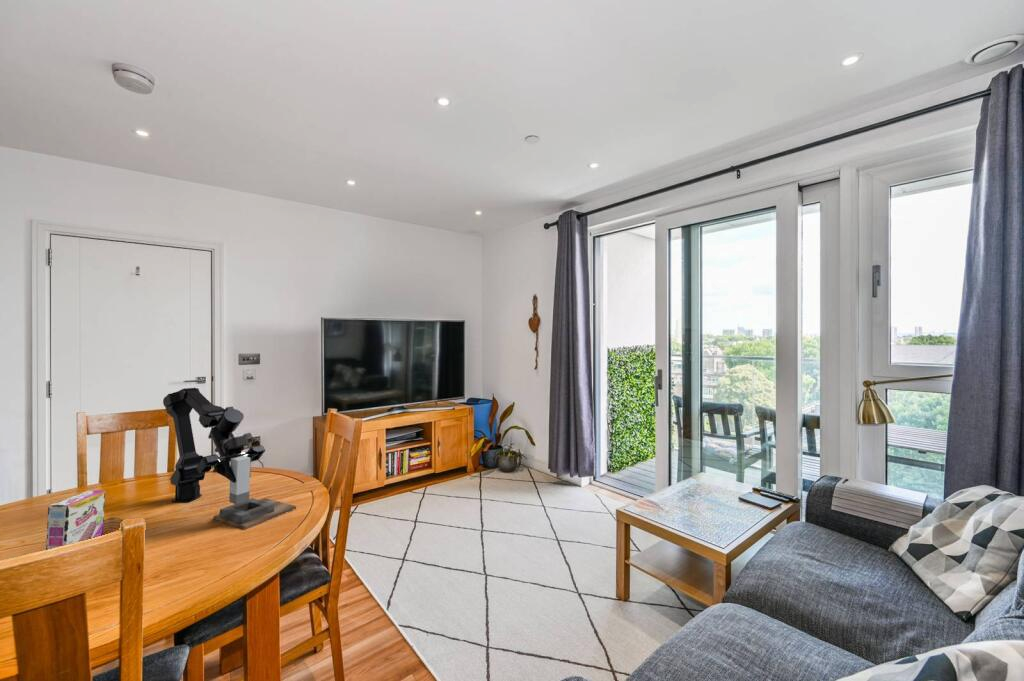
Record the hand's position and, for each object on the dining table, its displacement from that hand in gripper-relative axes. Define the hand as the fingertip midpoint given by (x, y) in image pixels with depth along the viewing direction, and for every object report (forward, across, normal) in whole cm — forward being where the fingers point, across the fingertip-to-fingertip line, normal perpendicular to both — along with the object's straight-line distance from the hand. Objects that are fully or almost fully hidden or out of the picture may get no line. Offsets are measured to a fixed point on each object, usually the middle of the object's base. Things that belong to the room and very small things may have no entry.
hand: (242, 480), depth 137 cm
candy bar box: (+1, -35, +18) cm, 40 cm away
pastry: (-7, -25, +27) cm, 37 cm away
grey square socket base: (+8, +6, +11) cm, 15 cm away
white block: (+4, 0, +6) cm, 7 cm away
